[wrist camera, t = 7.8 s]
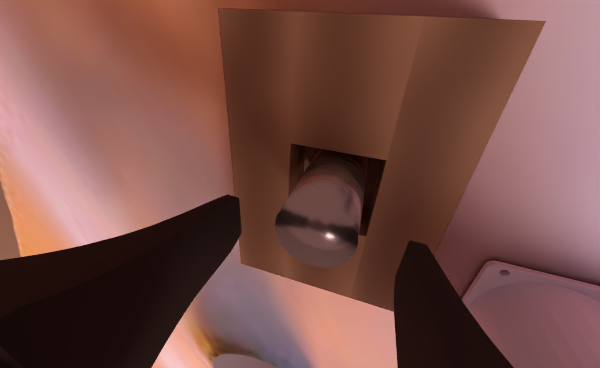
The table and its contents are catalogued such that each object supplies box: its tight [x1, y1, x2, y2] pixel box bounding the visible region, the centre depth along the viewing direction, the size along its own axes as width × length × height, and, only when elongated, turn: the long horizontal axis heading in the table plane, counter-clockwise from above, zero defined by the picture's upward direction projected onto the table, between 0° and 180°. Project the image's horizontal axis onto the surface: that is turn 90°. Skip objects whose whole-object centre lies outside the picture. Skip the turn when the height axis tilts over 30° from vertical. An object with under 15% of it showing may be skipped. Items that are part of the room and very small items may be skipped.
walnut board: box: [218, 8, 546, 312], centre depth 14 cm, size 12×16×3 cm
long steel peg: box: [275, 149, 368, 267], centre depth 13 cm, size 3×3×7 cm
